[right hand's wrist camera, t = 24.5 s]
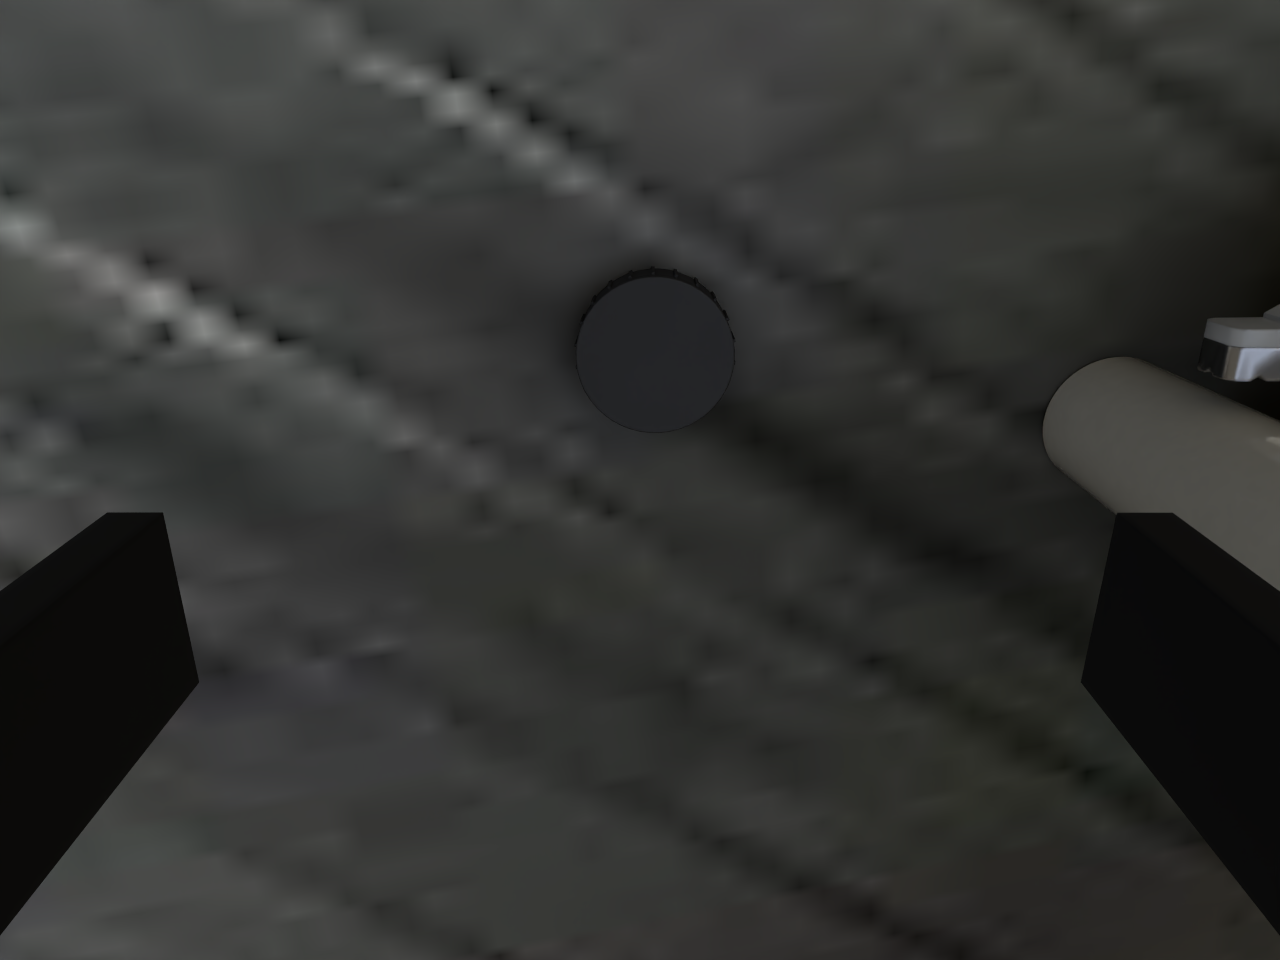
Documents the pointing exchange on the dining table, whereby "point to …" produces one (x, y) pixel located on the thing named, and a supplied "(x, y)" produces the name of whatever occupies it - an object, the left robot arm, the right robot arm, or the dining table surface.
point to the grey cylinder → (1172, 454)
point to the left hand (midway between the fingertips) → (1183, 486)
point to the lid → (655, 351)
